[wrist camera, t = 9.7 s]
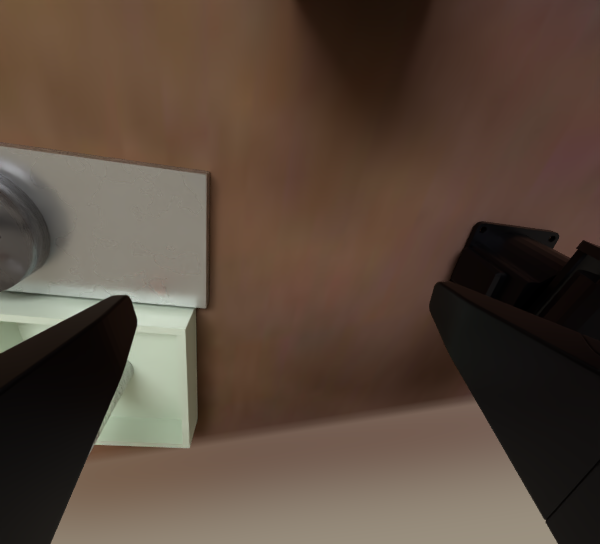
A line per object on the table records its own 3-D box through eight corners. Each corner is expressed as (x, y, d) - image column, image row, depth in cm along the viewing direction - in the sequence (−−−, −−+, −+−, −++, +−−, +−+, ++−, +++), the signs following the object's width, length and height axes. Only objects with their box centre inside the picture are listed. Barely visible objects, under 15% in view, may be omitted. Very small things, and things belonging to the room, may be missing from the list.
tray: (195, 305, 24) (185, 329, 21) (197, 419, 31) (189, 448, 28) (3, 287, 23) (-34, 311, 20) (48, 411, 29) (24, 441, 26)
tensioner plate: (209, 171, 19) (188, 190, 15) (208, 301, 24) (192, 344, 20) (-111, 126, 17) (-245, 132, 13) (-45, 277, 22) (-126, 319, 18)
